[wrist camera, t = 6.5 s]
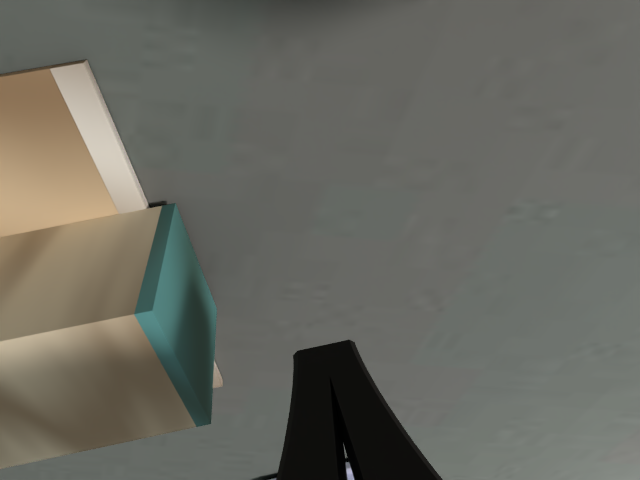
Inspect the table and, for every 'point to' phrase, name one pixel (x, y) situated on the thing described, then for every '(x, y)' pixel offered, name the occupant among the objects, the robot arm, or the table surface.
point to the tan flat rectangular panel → (61, 153)
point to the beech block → (102, 335)
